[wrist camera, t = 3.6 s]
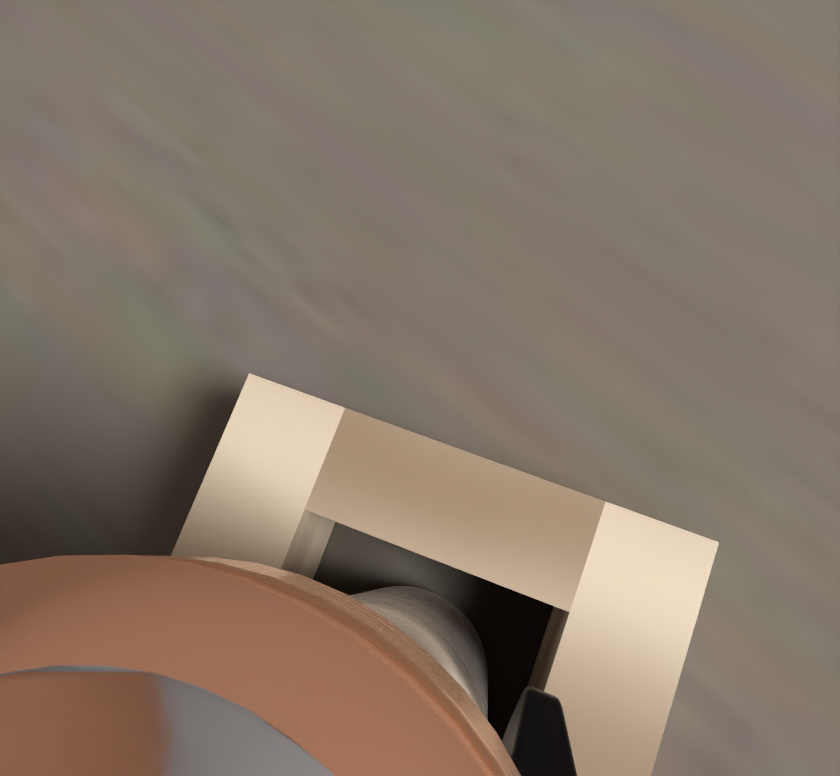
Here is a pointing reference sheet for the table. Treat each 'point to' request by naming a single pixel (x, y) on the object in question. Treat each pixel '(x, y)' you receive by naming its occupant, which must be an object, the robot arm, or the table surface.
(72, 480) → the table surface
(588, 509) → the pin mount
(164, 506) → the table surface
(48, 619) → the lock pin
